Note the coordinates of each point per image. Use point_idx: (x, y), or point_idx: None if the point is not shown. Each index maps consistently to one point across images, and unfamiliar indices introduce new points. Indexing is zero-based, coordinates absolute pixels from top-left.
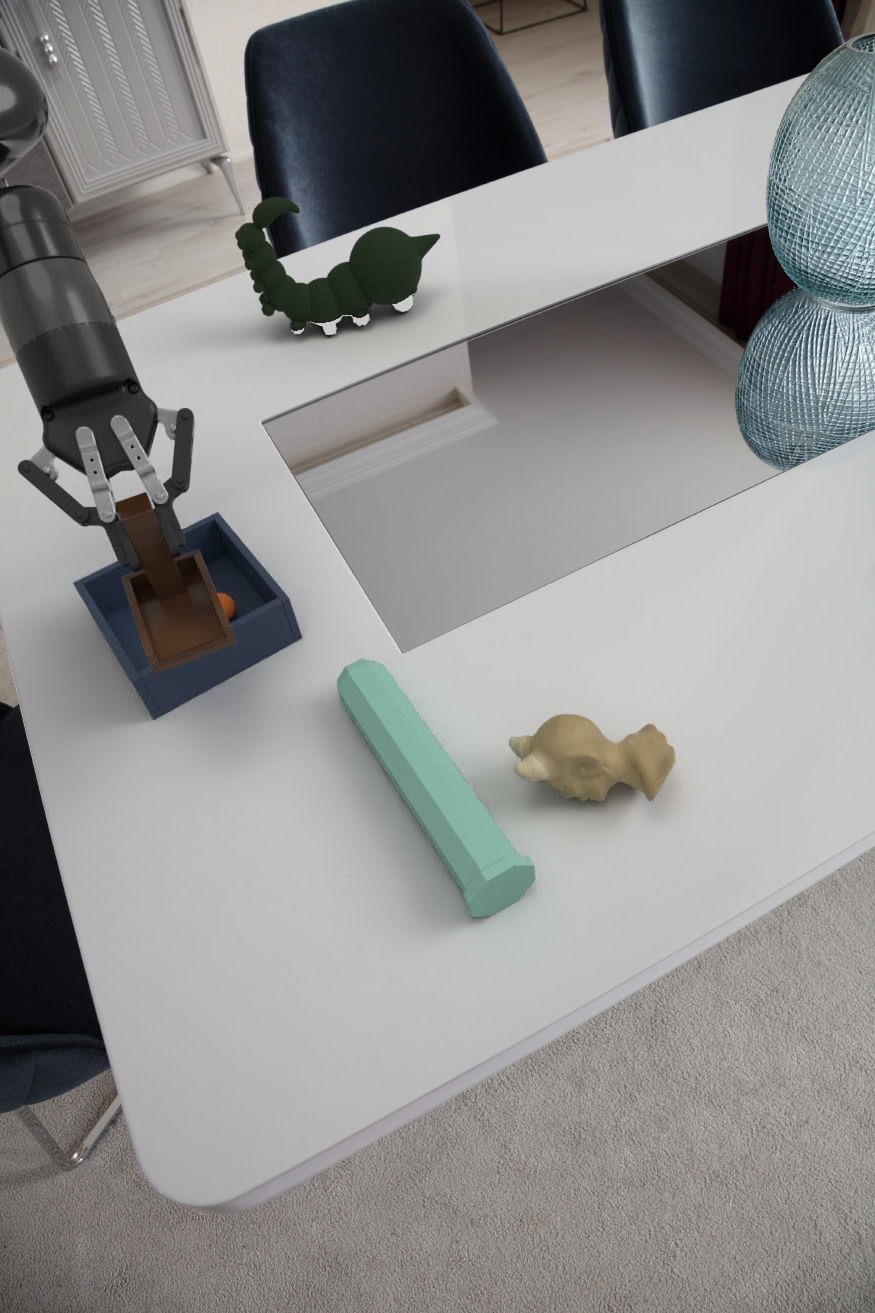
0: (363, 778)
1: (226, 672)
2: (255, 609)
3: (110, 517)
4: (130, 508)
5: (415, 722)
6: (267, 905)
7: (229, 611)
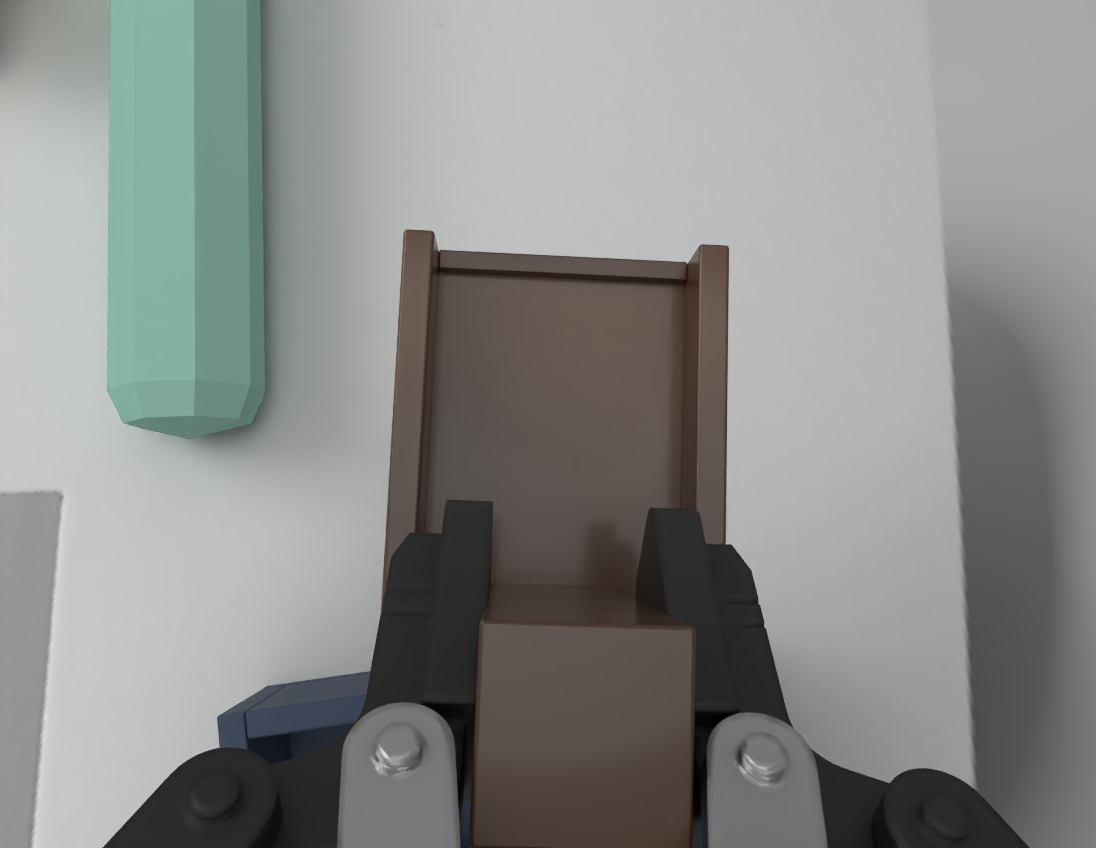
0: (317, 209)
1: None
2: (328, 727)
3: (746, 735)
4: (610, 721)
5: (124, 153)
6: (606, 50)
7: None
